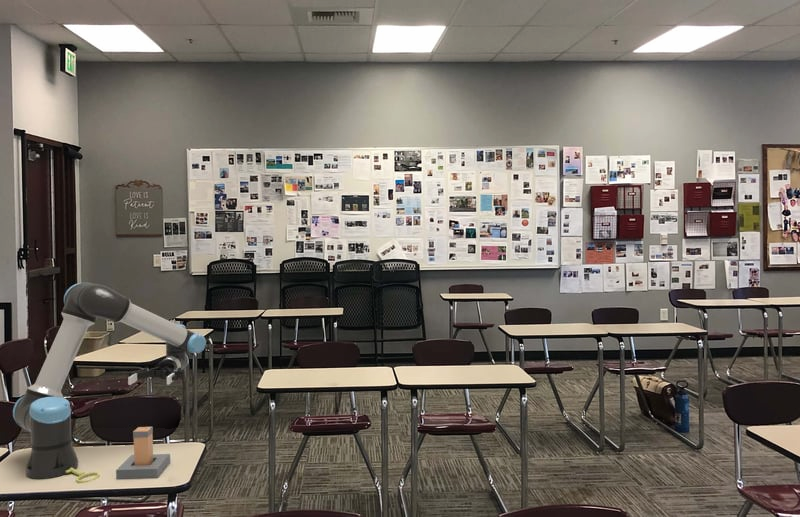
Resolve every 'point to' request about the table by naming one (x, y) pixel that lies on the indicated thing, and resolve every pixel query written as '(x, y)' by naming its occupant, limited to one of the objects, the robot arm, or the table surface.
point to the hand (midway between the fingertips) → (148, 381)
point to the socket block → (143, 468)
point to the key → (83, 475)
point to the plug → (143, 446)
